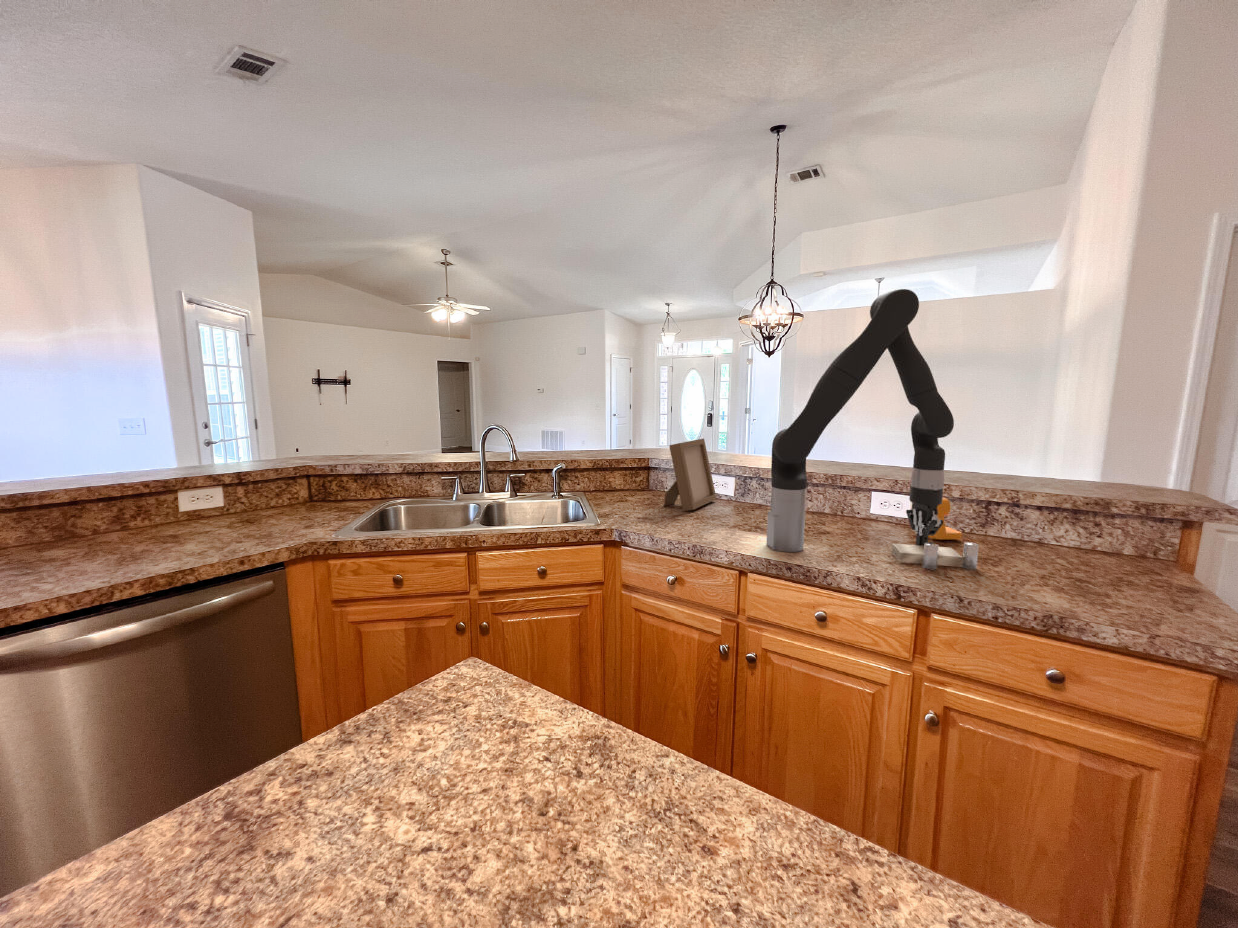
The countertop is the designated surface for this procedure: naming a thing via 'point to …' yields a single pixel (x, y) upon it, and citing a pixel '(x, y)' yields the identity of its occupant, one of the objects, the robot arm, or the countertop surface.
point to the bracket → (943, 530)
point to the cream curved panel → (916, 554)
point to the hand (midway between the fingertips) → (921, 548)
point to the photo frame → (691, 475)
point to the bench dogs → (967, 562)
